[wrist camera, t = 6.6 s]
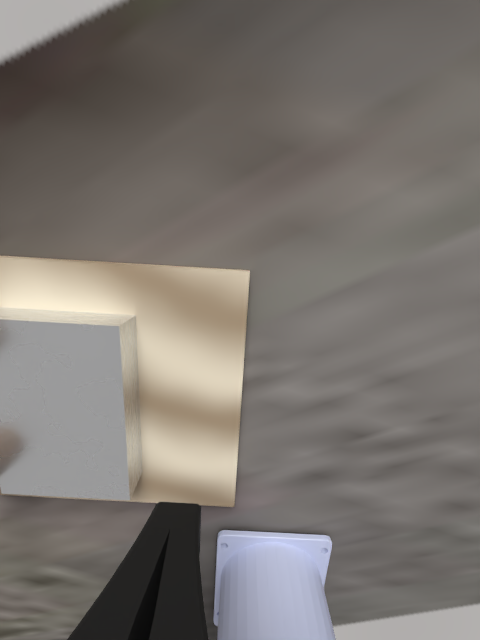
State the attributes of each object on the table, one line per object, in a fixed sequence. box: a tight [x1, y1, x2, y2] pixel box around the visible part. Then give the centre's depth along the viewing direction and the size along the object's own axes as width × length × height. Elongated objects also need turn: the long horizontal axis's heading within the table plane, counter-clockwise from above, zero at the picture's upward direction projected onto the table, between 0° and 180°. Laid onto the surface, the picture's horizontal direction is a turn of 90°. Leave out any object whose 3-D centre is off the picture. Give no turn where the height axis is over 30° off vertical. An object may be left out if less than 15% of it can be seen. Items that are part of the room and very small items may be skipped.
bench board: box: [0, 256, 250, 507], centre depth 14 cm, size 15×16×5 cm
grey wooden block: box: [0, 307, 143, 500], centre depth 15 cm, size 10×7×2 cm
